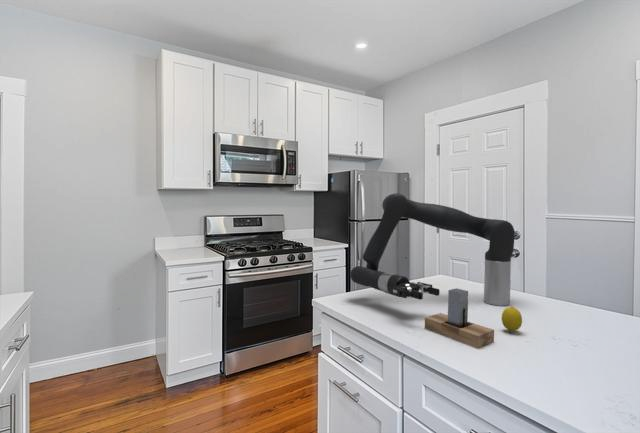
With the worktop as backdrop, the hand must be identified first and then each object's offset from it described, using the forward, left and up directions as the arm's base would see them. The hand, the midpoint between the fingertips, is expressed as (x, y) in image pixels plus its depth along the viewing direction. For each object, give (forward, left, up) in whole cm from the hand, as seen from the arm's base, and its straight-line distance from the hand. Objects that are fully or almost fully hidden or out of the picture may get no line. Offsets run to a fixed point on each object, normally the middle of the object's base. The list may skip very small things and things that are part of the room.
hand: (430, 294), depth 111 cm
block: (0, +10, -9) cm, 13 cm away
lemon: (-16, +18, -10) cm, 26 cm away
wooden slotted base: (0, +10, -10) cm, 14 cm away
